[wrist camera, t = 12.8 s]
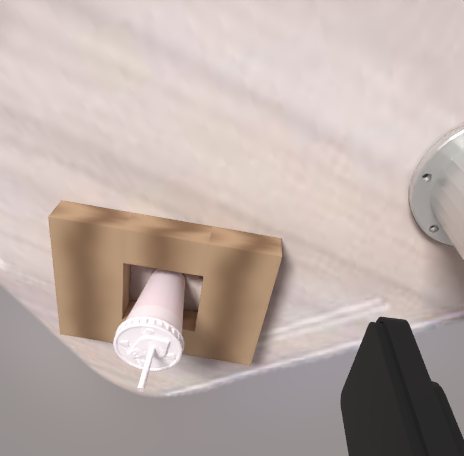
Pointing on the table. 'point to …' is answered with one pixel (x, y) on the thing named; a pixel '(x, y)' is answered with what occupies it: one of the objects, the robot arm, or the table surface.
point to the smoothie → (154, 326)
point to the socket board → (167, 258)
